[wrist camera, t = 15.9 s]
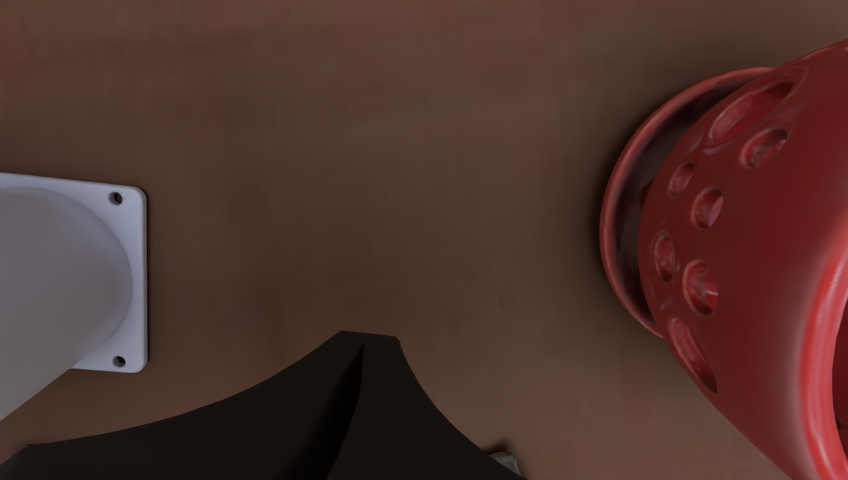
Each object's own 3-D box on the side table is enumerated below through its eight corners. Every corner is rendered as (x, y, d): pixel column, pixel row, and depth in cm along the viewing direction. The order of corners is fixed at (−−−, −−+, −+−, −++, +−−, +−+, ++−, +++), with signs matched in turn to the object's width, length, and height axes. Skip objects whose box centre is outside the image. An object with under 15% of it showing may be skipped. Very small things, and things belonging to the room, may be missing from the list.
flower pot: (577, 367, 23) (771, 623, 11) (573, 70, 20) (835, -6, 8) (847, 337, 23) (1302, 551, 12) (884, 43, 20) (1557, -66, 9)
